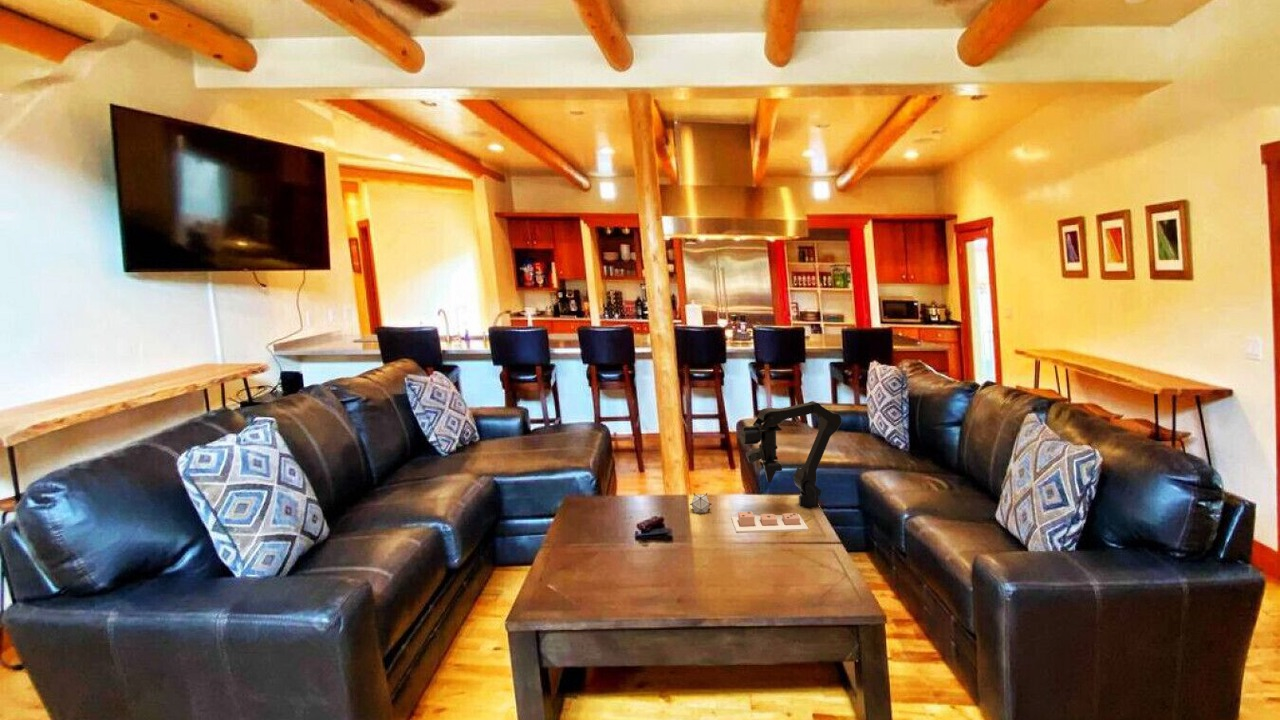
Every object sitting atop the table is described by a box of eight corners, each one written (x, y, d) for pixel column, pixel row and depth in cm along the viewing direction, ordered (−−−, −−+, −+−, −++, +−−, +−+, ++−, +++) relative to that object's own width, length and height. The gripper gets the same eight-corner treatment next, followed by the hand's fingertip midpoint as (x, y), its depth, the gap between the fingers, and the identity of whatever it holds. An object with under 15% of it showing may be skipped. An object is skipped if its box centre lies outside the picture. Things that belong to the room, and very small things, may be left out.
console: (799, 519, 223) (799, 514, 223) (808, 534, 210) (808, 528, 210) (731, 521, 223) (731, 516, 223) (736, 536, 210) (736, 531, 210)
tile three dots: (796, 523, 219) (796, 512, 218) (799, 529, 214) (799, 518, 213) (782, 524, 219) (782, 513, 218) (785, 529, 214) (785, 518, 213)
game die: (696, 523, 233) (681, 500, 235) (713, 511, 236) (699, 489, 238) (702, 519, 225) (687, 496, 227) (720, 507, 227) (705, 484, 230)
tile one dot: (774, 524, 219) (774, 513, 218) (777, 530, 214) (777, 518, 213) (760, 524, 219) (760, 514, 218) (763, 530, 214) (763, 519, 214)
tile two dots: (752, 522, 219) (752, 511, 218) (754, 527, 214) (754, 516, 213) (738, 522, 219) (738, 511, 218) (740, 528, 214) (740, 517, 214)
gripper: (743, 436, 236) (743, 475, 238) (751, 450, 218) (752, 491, 220) (771, 435, 236) (772, 474, 238) (782, 448, 218) (782, 490, 220)
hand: (769, 482), depth 229 cm, fingers closed
